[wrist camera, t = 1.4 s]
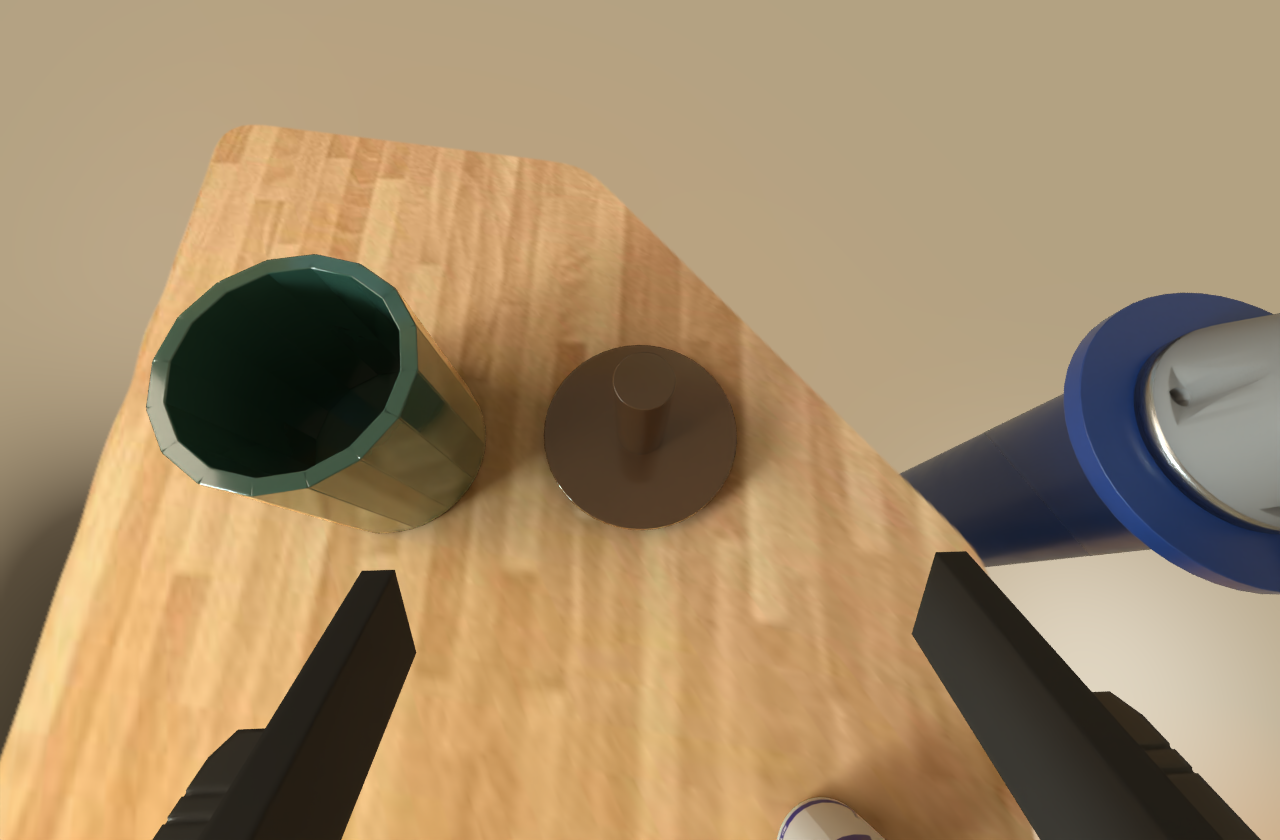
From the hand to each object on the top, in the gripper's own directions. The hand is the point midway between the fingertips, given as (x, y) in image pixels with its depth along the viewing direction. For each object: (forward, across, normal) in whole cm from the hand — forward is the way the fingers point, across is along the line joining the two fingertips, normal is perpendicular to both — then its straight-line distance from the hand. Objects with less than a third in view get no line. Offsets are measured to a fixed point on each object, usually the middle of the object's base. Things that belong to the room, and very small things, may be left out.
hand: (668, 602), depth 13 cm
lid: (+22, 0, -7) cm, 23 cm away
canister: (+22, -16, -7) cm, 28 cm away
